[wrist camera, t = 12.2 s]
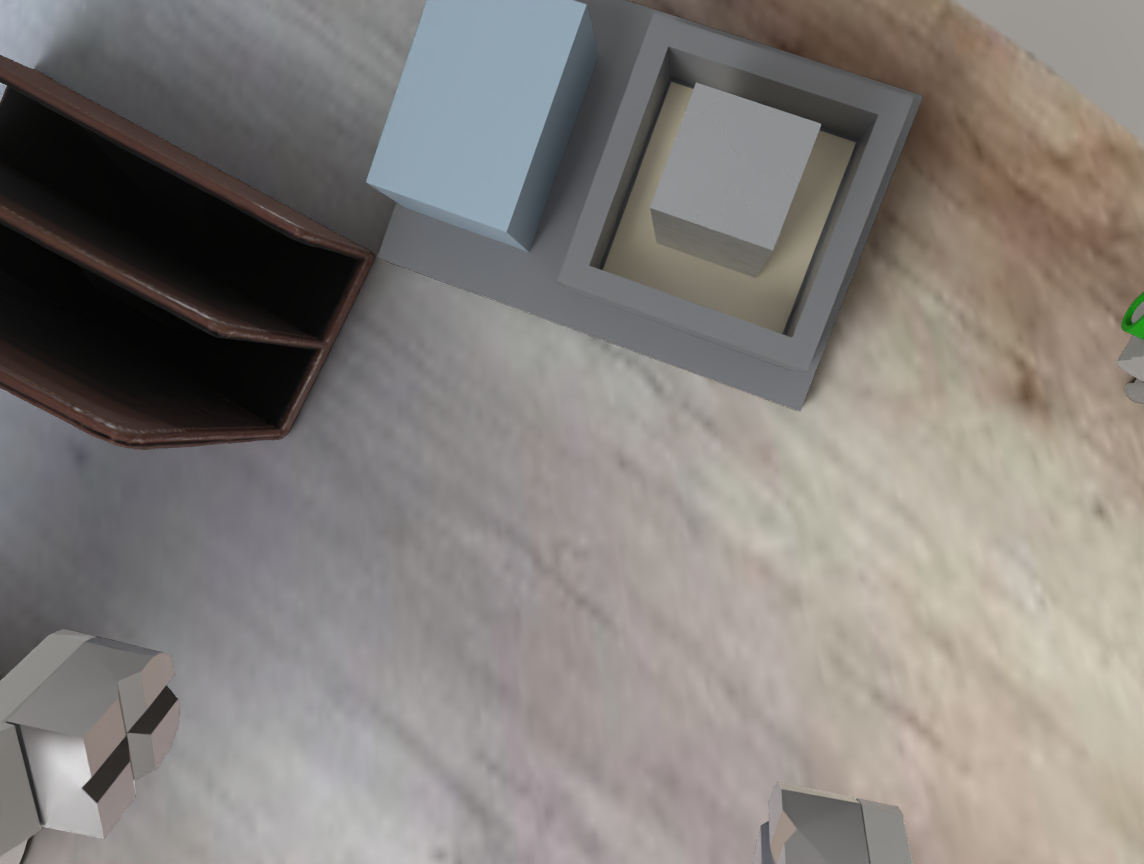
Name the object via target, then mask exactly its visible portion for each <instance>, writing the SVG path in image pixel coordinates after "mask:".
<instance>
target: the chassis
mask: <svg viewBox="0 0 1144 864" xmlns="http://www.w3.org/2000/svg"><path fill="white" fill-rule="evenodd" d="M696 83H699V84H702V85H705V86H708V87H712V88H715V89H718V90H721V91H724V92H727V93H730V94H733V95H736V96H739V97H742V98H745V99H748V100H751V101H754V102H757V103H760V104H763V105H766V106H769V107H772V108H775V109H778V110H781V111H784V112H787V113H790V114H793V115H796V116H799V117H802V118H805V119H808V120H811V121H814V122H817V123H820V124H821V127H820V129H819V132H818V135H817V137H816V140H815V143H814V145H813V148H812V150H811V153H810V156H809V158H808V161H807V163H806V166H805V169H804V171H803V174H802V176H801V179H800V182H799V184H798V187H797V190H796V192H795V195H794V197H793V200H792V203H791V205H790V208H789V210H788V213H787V216H786V218H785V221H784V223H783V226H782V229H781V231H780V234H779V237H778V239H777V242H776V244H775V247H774V250H773V252H772V253H771V255H770V256H769V258H768V259H767V261H766V263H765V264H764V266H763V267H762V269H761V270H760V272H759V273H758V275H757V277H756V278H754V277H751V276H748V275H745V274H743V273H740V272H737V271H734V270H731V269H728V268H726V267H723V266H720V265H717V264H714V263H711V262H709V261H706V260H703V259H700V258H697V257H694V256H692V255H689V254H686V253H683V252H680V251H677V250H674V249H672V248H669V247H666V246H663V245H660V244H657V243H656V237H655V232H654V227H653V221H652V216H651V211H650V206H651V203H652V201H653V198H654V195H655V193H656V190H657V187H658V184H659V182H660V179H661V176H662V174H663V171H664V168H665V165H666V163H667V160H668V157H669V155H670V152H671V149H672V146H673V144H674V141H675V138H676V136H677V133H678V130H679V127H680V125H681V122H682V119H683V117H684V114H685V111H686V108H687V106H688V103H689V100H690V98H691V95H692V92H693V89H694V87H695V84H696ZM922 98H923V96H922V95H919V94H916V93H913V92H910V91H907V90H904V89H901V88H898V87H894V86H891V85H888V84H885V83H882V82H879V81H876V80H873V79H870V78H866V77H863V76H860V75H857V74H854V73H851V72H848V71H845V70H842V69H838V68H835V67H832V66H829V65H826V64H823V63H820V62H817V61H814V60H810V59H807V58H804V57H801V56H798V55H795V54H792V53H789V52H785V51H782V50H779V49H776V48H773V47H770V46H767V45H764V44H761V43H757V42H754V41H751V40H748V39H745V38H742V37H739V36H736V35H733V34H729V33H726V32H723V31H720V30H717V29H714V28H711V27H708V26H705V25H701V24H698V23H695V22H692V21H689V20H686V19H683V18H680V17H677V16H673V15H670V14H667V13H664V12H661V11H658V10H655V9H652V8H649V7H645V6H642V5H639V4H636V3H633V2H630V1H627V0H427V1H426V4H425V7H424V10H423V13H422V16H421V19H420V22H419V25H418V28H417V31H416V34H415V37H414V40H413V43H412V46H411V49H410V52H409V55H408V58H407V61H406V64H405V67H404V70H403V73H402V76H401V79H400V82H399V85H398V87H397V90H396V93H395V96H394V99H393V102H392V105H391V108H390V111H389V114H388V117H387V120H386V123H385V126H384V129H383V132H382V135H381V138H380V141H379V144H378V147H377V150H376V153H375V156H374V159H373V162H372V165H371V168H370V171H369V174H368V177H367V180H366V183H368V184H369V185H371V186H372V187H374V188H375V189H377V190H378V191H380V192H381V193H383V194H384V195H386V196H388V197H389V198H391V199H392V200H394V201H395V202H396V204H395V207H394V210H393V213H392V216H391V219H390V222H389V225H388V228H387V231H386V233H385V236H384V239H383V242H382V245H381V248H380V251H379V254H378V257H377V258H380V259H382V260H384V261H387V262H390V263H392V264H395V265H398V266H401V267H403V268H406V269H409V270H411V271H414V272H417V273H420V274H422V275H425V276H428V277H431V278H433V279H436V280H439V281H442V282H444V283H447V284H450V285H453V286H455V287H458V288H461V289H464V290H466V291H469V292H472V293H475V294H477V295H480V296H483V297H486V298H488V299H491V300H494V301H497V302H499V303H502V304H505V305H508V306H510V307H513V308H516V309H519V310H521V311H524V312H527V313H530V314H532V315H535V316H538V317H541V318H543V319H546V320H549V321H552V322H554V323H557V324H560V325H563V326H565V327H568V328H571V329H574V330H576V331H579V332H582V333H585V334H587V335H590V336H593V337H596V338H598V339H601V340H604V341H607V342H609V343H612V344H615V345H618V346H620V347H623V348H626V349H629V350H631V351H634V352H637V353H640V354H642V355H645V356H648V357H650V358H653V359H656V360H659V361H661V362H664V363H667V364H670V365H672V366H675V367H678V368H681V369H683V370H686V371H689V372H692V373H694V374H697V375H700V376H703V377H705V378H708V379H711V380H714V381H716V382H719V383H722V384H725V385H727V386H730V387H733V388H736V389H738V390H741V391H744V392H747V393H749V394H752V395H755V396H758V397H760V398H763V399H766V400H769V401H771V402H774V403H777V404H780V405H782V406H785V407H788V408H791V409H793V410H796V411H801V408H802V405H803V403H804V400H805V398H806V395H807V393H808V390H809V387H810V385H811V382H812V380H813V377H814V375H815V372H816V370H817V367H818V364H819V362H820V359H821V357H822V354H823V352H824V349H825V346H826V344H827V341H828V339H829V336H830V334H831V331H832V328H833V326H834V323H835V321H836V318H837V316H838V313H839V311H840V308H841V305H842V303H843V300H844V298H845V295H846V293H847V290H848V287H849V285H850V282H851V280H852V277H853V275H854V272H855V269H856V267H857V264H858V262H859V259H860V257H861V254H862V252H863V249H864V246H865V244H866V241H867V239H868V236H869V234H870V231H871V228H872V226H873V223H874V221H875V218H876V216H877V213H878V211H879V208H880V205H881V203H882V200H883V198H884V195H885V193H886V190H887V187H888V185H889V182H890V180H891V177H892V175H893V172H894V169H895V167H896V164H897V162H898V159H899V157H900V154H901V152H902V149H903V146H904V144H905V141H906V139H907V136H908V134H909V131H910V128H911V126H912V123H913V121H914V118H915V116H916V113H917V110H918V108H919V105H920V103H921V100H922Z"/></svg>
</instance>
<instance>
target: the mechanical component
mask: <svg viewBox="0 0 1144 864" xmlns="http://www.w3.org/2000/svg"><path fill="white" fill-rule="evenodd" d="M1121 328H1122V330H1124V331H1126V332H1128V333H1130V334H1132V335H1133V336H1132V337H1131V339H1130V341H1129V342H1128V344H1127V346H1126V347H1125V349H1124V351H1123V352H1122V354H1121V356H1120V357H1119V359H1118V361H1117V365H1118V366H1119V367H1120V368H1121V369H1122V370H1124V371H1125V372H1127V373H1128V374H1130V375H1132V376H1134V377H1135V378H1137V379H1136V380H1135V382H1134V383H1128V384H1127V385H1126V387H1125V389H1124V391H1125V393H1126V395H1127V396H1128V397H1129V398H1130V399H1131V400H1132V401H1134V402H1137V403H1143V404H1144V292H1143V293H1142V294H1141V295H1140V296H1139V297H1137V298H1136V299H1135V301H1134V302H1133V303H1132V304H1131V306H1130V307H1129V309H1128V310H1127V312H1126V314H1125V316H1124V318H1123V321H1122V325H1121Z"/></svg>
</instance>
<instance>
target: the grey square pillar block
mask: <svg viewBox="0 0 1144 864" xmlns="http://www.w3.org/2000/svg"><path fill="white" fill-rule="evenodd" d="M820 127H821V124H820V123H817V122H814V121H811V120H808V119H805V118H802V117H799V116H796V115H793V114H790V113H787V112H784V111H781V110H778V109H775V108H772V107H769V106H766V105H763V104H760V103H757V102H754V101H751V100H748V99H745V98H742V97H739V96H736V95H733V94H730V93H727V92H724V91H721V90H718V89H715V88H712V87H708V86H705V85H702V84H699V83H696V84H695V87H694V89H693V92H692V95H691V98H690V100H689V103H688V106H687V108H686V111H685V114H684V117H683V119H682V122H681V125H680V127H679V130H678V133H677V136H676V138H675V141H674V144H673V146H672V149H671V152H670V155H669V157H668V160H667V163H666V165H665V168H664V171H663V174H662V176H661V179H660V182H659V184H658V187H657V190H656V193H655V195H654V198H653V201H652V203H651V206H650V211H651V216H652V221H653V227H654V232H655V237H656V243H657V244H660V245H663V246H666V247H669V248H672V249H674V250H677V251H680V252H683V253H686V254H689V255H692V256H694V257H697V258H700V259H703V260H706V261H709V262H711V263H714V264H717V265H720V266H723V267H726V268H728V269H731V270H734V271H737V272H740V273H743V274H745V275H748V276H751V277H754V278H756V277H757V275H758V273H759V272H760V270H761V269H762V267H763V266H764V264H765V263H766V261H767V259H768V258H769V256H770V255H771V253H772V252H773V250H774V247H775V244H776V242H777V239H778V237H779V234H780V231H781V229H782V226H783V223H784V221H785V218H786V216H787V213H788V210H789V208H790V205H791V203H792V200H793V197H794V195H795V192H796V190H797V187H798V184H799V182H800V179H801V176H802V174H803V171H804V169H805V166H806V163H807V161H808V158H809V156H810V153H811V150H812V148H813V145H814V143H815V140H816V137H817V135H818V132H819V129H820Z"/></svg>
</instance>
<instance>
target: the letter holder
mask: <svg viewBox="0 0 1144 864" xmlns="http://www.w3.org/2000/svg"><path fill="white" fill-rule="evenodd" d="M0 82H1V83H3V84H5V85H7V87H6V90H5V92H4V95H3V97H2V100H1V102H0V388H1V389H3V390H6V391H8V392H9V393H11V394H13V395H15V396H17V397H18V398H20V399H22V400H24V401H27V402H29V403H31V404H33V405H35V406H36V407H38V408H40V409H42V410H44V411H46V412H48V413H50V414H52V415H54V416H56V417H58V418H60V419H62V420H64V421H66V422H68V423H69V424H71V425H73V426H75V427H77V428H78V429H80V430H82V431H84V432H86V433H88V434H90V435H92V436H95V437H97V438H99V439H102V440H104V441H107V442H109V443H112V444H114V445H117V446H121V447H125V448H132V449H142V450H146V449H155V448H178V447H193V446H203V445H212V444H222V443H229V444H231V443H237V442H249V441H256V440H279V439H282V438H283V437H284V436H286V435H287V433H288V432H289V430H290V428H291V426H292V424H293V422H294V420H295V418H296V416H297V414H298V412H299V410H300V408H301V406H302V404H303V403H304V401H305V399H306V396H307V394H308V392H309V391H310V389H311V387H312V385H313V383H314V380H315V378H316V376H317V374H318V372H319V370H320V369H321V367H322V364H323V362H324V360H325V358H326V356H327V354H328V352H329V350H330V348H331V346H332V344H333V342H334V340H335V339H336V337H337V335H338V332H339V331H340V329H341V327H342V324H343V322H344V320H345V318H346V316H347V314H348V312H349V311H350V308H351V306H352V304H353V302H354V300H355V298H356V296H357V295H358V293H359V291H360V288H361V285H362V284H363V281H364V279H365V278H366V276H367V274H368V272H369V269H370V267H371V265H372V263H373V260H374V258H375V255H374V254H373V253H372V252H371V251H369V250H368V249H365V248H363V247H361V246H359V245H357V244H356V243H354V242H351V241H349V240H348V239H346V238H344V237H342V236H340V235H338V234H337V233H335V232H333V231H332V230H330V229H328V228H326V227H324V226H323V225H321V224H319V223H317V222H315V221H313V220H311V219H310V218H308V217H306V216H304V215H302V214H300V213H299V212H297V211H294V210H293V209H291V208H289V207H287V206H285V205H283V204H282V203H280V202H278V201H276V200H274V199H273V198H271V197H269V196H267V195H265V194H263V193H261V192H259V191H257V190H256V189H254V188H252V187H250V186H249V185H247V184H245V183H243V182H241V181H240V180H238V179H236V178H234V177H232V176H230V175H228V174H226V173H224V172H222V171H220V170H219V169H217V168H215V167H213V166H211V165H209V164H208V163H206V162H204V161H202V160H200V159H198V158H197V157H195V156H193V155H192V154H190V153H188V152H186V151H184V150H182V149H180V148H179V147H176V146H175V145H173V144H171V143H169V142H167V141H165V140H163V139H161V138H160V137H158V136H156V135H155V134H153V133H150V132H149V131H147V130H145V129H143V128H142V127H139V126H138V125H136V124H134V123H132V122H130V121H129V120H126V119H124V118H123V117H121V116H119V115H117V114H115V113H113V112H112V111H110V110H108V109H106V108H104V107H102V106H101V105H99V104H97V103H95V102H93V101H91V100H89V99H87V98H85V97H84V96H81V95H80V94H78V93H76V92H74V91H72V90H70V89H69V88H67V87H65V86H63V85H61V84H59V83H57V82H56V81H54V80H53V79H52V78H49V77H47V76H45V75H44V74H42V73H40V72H39V71H37V70H35V69H31V68H28V67H26V66H23V65H21V64H19V63H17V62H14V61H13V60H10V59H8V58H6V57H3V56H1V55H0Z"/></svg>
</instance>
